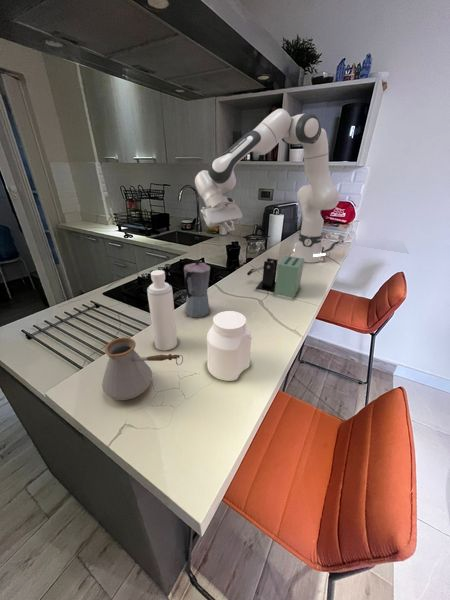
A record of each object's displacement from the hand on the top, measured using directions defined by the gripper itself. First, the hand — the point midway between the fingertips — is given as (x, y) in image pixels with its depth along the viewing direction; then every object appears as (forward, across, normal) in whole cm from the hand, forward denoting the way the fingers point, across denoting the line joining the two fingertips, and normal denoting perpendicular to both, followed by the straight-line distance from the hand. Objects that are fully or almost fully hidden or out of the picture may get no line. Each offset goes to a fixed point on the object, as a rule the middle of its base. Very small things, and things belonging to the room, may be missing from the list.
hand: (231, 231), depth 115 cm
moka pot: (+26, -34, +3) cm, 43 cm away
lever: (+22, +1, -3) cm, 23 cm away
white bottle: (+31, -52, -2) cm, 61 cm away
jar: (+45, -45, -17) cm, 66 cm away
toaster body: (+36, +5, -6) cm, 37 cm away
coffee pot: (+40, -66, -12) cm, 79 cm away
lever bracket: (+30, +2, 0) cm, 30 cm away
